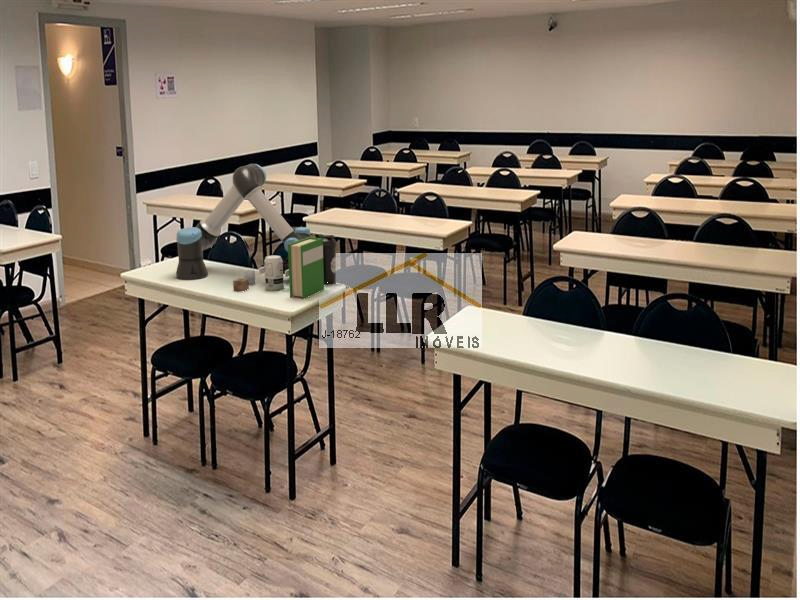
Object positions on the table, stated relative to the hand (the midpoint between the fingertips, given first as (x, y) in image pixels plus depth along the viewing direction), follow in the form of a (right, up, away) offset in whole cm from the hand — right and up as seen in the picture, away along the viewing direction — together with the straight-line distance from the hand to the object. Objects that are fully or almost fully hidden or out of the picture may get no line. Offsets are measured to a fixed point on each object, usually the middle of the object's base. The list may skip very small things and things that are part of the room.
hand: (272, 272), depth 341 cm
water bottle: (+24, -4, +14) cm, 28 cm away
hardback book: (+17, -10, -4) cm, 20 cm away
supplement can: (0, -7, +4) cm, 8 cm away
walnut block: (-15, -8, +1) cm, 17 cm away
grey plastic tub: (-13, -5, +12) cm, 18 cm away
